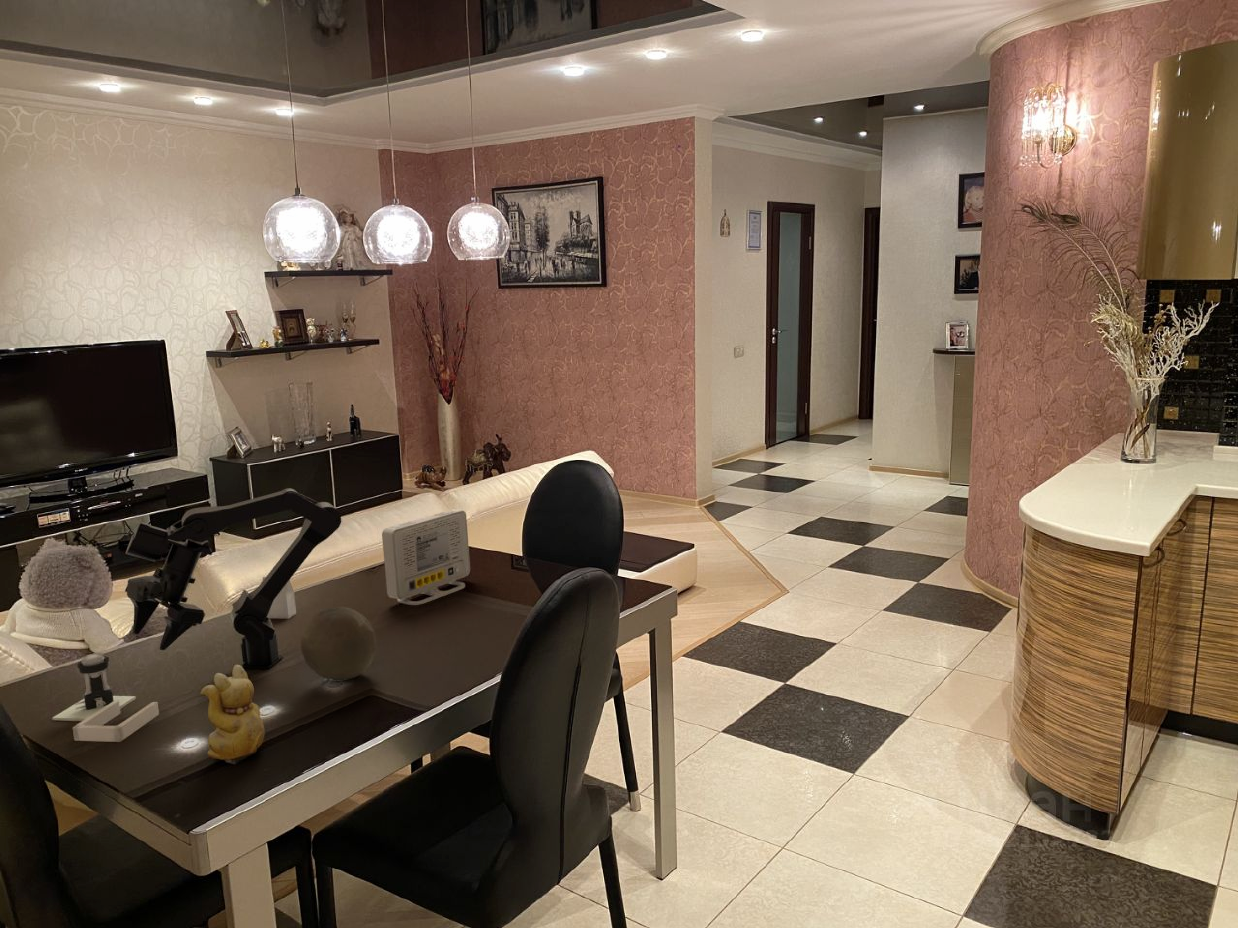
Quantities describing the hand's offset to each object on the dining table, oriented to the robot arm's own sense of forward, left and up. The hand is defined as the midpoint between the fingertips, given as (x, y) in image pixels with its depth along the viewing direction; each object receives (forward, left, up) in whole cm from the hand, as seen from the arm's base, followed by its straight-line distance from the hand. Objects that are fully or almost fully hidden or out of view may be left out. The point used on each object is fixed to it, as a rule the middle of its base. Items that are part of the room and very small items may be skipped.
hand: (148, 641), depth 185 cm
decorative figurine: (-34, +26, -10) cm, 44 cm away
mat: (+5, +11, -10) cm, 15 cm away
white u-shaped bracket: (-5, +18, -10) cm, 21 cm away
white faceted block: (-4, -43, -10) cm, 44 cm away
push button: (+5, +11, -9) cm, 15 cm away
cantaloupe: (-38, -5, -10) cm, 40 cm away
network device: (-37, -61, -10) cm, 72 cm away
